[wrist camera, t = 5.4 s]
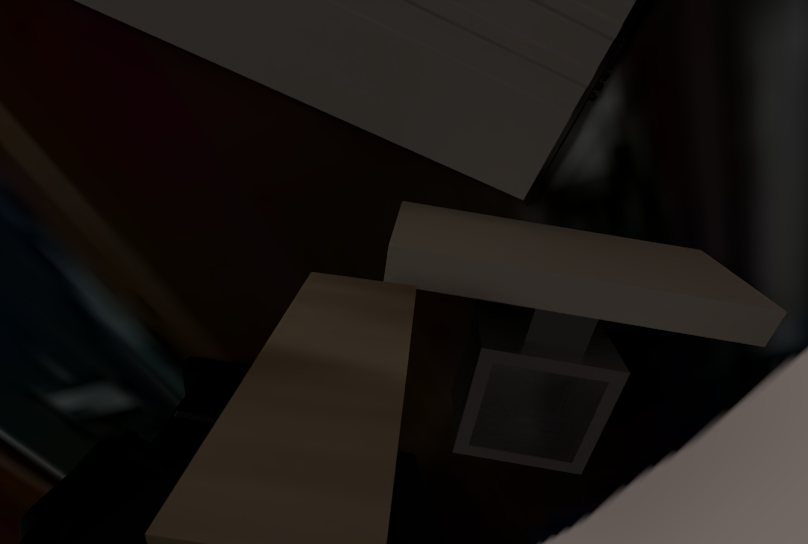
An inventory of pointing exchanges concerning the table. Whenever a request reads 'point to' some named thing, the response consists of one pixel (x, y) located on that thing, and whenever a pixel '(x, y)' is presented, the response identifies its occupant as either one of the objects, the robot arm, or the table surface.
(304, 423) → the rail post
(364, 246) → the table surface
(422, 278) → the board
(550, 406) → the square open holder
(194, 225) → the table surface
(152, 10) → the baseboard molding
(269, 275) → the table surface
